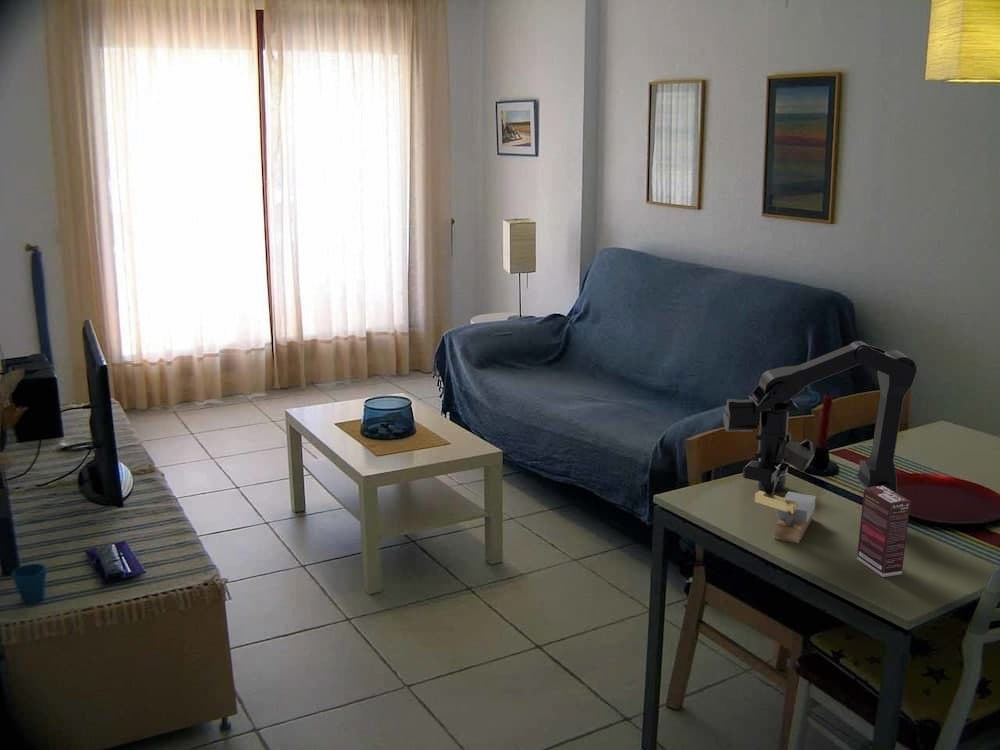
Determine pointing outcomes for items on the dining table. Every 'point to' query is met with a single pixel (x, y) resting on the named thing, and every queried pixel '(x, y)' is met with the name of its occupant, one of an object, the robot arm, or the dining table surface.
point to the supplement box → (883, 530)
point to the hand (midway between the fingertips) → (769, 496)
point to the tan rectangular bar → (776, 502)
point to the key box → (791, 529)
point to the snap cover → (800, 507)
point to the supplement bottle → (780, 483)
